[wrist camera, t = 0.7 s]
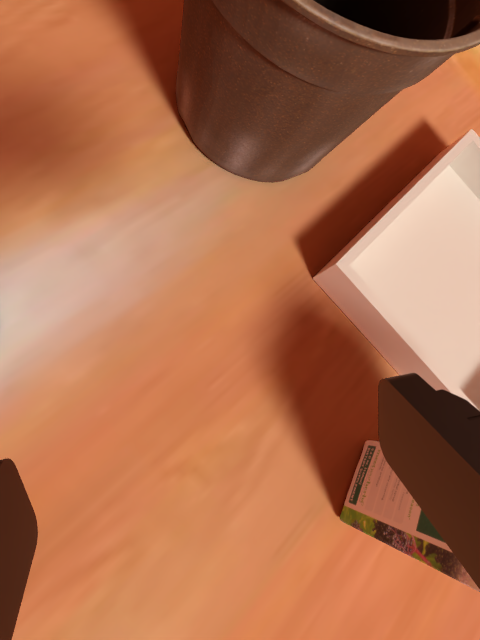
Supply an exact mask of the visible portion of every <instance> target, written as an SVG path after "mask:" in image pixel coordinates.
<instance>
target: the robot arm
mask: <svg viewBox="0 0 480 640" xmlns="http://www.w3.org/2000/svg"><path fill="white" fill-rule="evenodd" d="M378 436H379V443H380V447H381V450H382V453H383V455H384V457H385V459H386V461H387V463H388V464H389V466H390V467H391V468H392V470H393V471H394V472H395V474H396V475H397V477H398V478H399V479H400V481H401V482H402V483H403V485H404V486H405V488H406V489H407V490H408V492H409V493H410V494H411V496H412V497H413V499H414V500H415V501H416V503H417V504H418V505H419V507H420V508H421V510H422V511H423V512H424V514H425V515H426V516H427V518H428V519H429V521H430V522H431V523H432V525H433V526H434V527H435V529H436V530H437V532H438V533H439V534H440V536H441V537H442V538H443V540H444V541H445V542H446V544H447V545H448V547H449V548H450V549H451V551H452V552H453V553H454V555H455V556H456V558H457V559H458V560H459V562H460V563H461V564H462V566H463V567H464V569H465V570H466V571H467V573H468V574H469V575H470V577H471V578H472V580H473V581H474V582H475V584H476V585H477V586H478V588H479V589H480V411H479V410H478V409H477V408H475V407H474V406H473V405H472V404H471V403H469V402H468V401H467V400H466V399H463V398H461V397H459V396H457V395H455V394H452V393H450V392H448V391H446V390H443V389H441V390H437V391H436V390H435V389H434V388H433V387H431V386H430V385H429V384H428V383H427V382H426V381H425V380H424V379H422V378H421V377H420V376H419V375H418V374H416V373H409V374H404V375H399V376H395V377H390V378H385V379H382V380H381V381H380V382H379V386H378ZM37 537H38V529H37V520H36V516H35V513H34V510H33V507H32V505H31V503H30V500H29V498H28V495H27V493H26V490H25V488H24V485H23V483H22V480H21V478H20V475H19V473H18V470H17V468H16V466H15V464H14V462H13V461H12V460H11V459H3V460H0V640H12V636H13V632H14V628H15V624H16V621H17V617H18V613H19V609H20V606H21V602H22V598H23V594H24V590H25V587H26V583H27V579H28V575H29V572H30V568H31V564H32V560H33V557H34V553H35V549H36V545H37Z"/></svg>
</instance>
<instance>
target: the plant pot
mask: <svg viewBox="0 0 480 640" xmlns="http://www.w3.org/2000/svg"><path fill="white" fill-rule="evenodd" d="M479 44H480V0H184V9H183V20H182V31H181V42H180V53H179V62H178V71H177V80H176V99H177V106H178V111H179V114H180V116H181V117H182V118H183V120H184V122H185V125H186V127H187V129H188V131H189V133H190V135H191V137H192V140H193V142H194V143H195V144H196V146H197V147H198V148H199V149H200V150H201V151H202V152H203V153H204V154H205V155H206V156H207V157H208V158H209V159H210V160H212V161H213V162H214V163H216V164H217V165H219V166H220V167H222V168H224V169H225V170H227V171H229V172H231V173H233V174H235V175H238V176H241V177H244V178H247V179H250V180H255V181H260V182H279V181H284V180H287V179H290V178H292V177H295V176H297V175H300V174H302V173H305V172H307V171H309V170H310V169H311V168H313V167H314V166H315V165H316V164H317V163H318V162H319V161H320V160H321V159H322V158H324V157H325V156H326V155H327V154H328V153H329V152H330V151H332V150H333V149H334V148H335V147H336V146H337V145H339V144H340V143H341V142H342V141H343V140H344V139H346V138H347V137H348V136H349V135H350V134H351V133H352V132H354V131H355V130H356V129H357V128H358V127H359V126H360V125H362V124H363V123H364V122H365V121H366V120H367V119H369V118H370V117H371V116H372V115H373V114H374V113H375V112H377V111H378V110H379V109H380V108H381V107H382V106H384V105H385V104H386V103H387V102H388V101H390V100H391V99H392V98H393V97H394V96H395V95H397V94H398V93H399V92H400V91H401V90H403V89H405V88H407V87H409V86H412V85H414V84H416V83H418V82H419V81H421V80H423V79H424V78H425V77H427V76H428V75H429V74H430V73H432V72H433V71H434V70H435V69H437V68H438V67H439V66H440V65H441V64H443V63H444V62H445V61H446V60H447V59H449V58H450V57H451V56H452V55H454V54H455V53H459V52H462V51H465V50H468V49H470V48H473V47H475V46H477V45H479Z"/></svg>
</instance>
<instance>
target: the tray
mask: <svg viewBox="0 0 480 640" xmlns="http://www.w3.org/2000/svg"><path fill="white" fill-rule="evenodd" d="M313 279H314V281H315V282H316V283H317V284H318V285H319V286H320V287H321V288H322V289H323V290H324V292H325V293H326V294H327V295H328V296H329V297H330V298H331V299H332V300H333V302H334V303H335V304H336V305H337V306H338V307H339V308H340V309H341V310H342V312H343V313H344V314H345V315H346V316H347V317H348V318H349V319H350V320H351V322H352V323H353V324H354V325H355V326H356V327H357V328H358V329H359V330H360V332H361V333H362V334H363V335H364V336H365V337H366V338H367V339H368V340H369V342H370V343H371V344H372V345H373V346H374V347H375V348H376V349H377V350H378V352H379V353H380V354H381V355H382V356H383V357H384V358H385V359H386V360H387V362H388V363H389V364H390V365H391V366H392V367H393V368H394V369H395V370H396V371H397V373H398V374H399V375H404V374H409V373H416V374H418V375H419V376H420V377H421V378H422V379H424V380H425V381H426V382H427V383H428V384H429V385H430V386H431V387H433V388H434V389H435V390H436V391H437V390H441V389H443V390H446V391H448V392H450V393H452V394H455V395H457V396H459V397H461V398H463V399H466V400H467V401H468V402H469V403H471V404H472V405H473V406H474V407H475V408H477V409H478V410H479V411H480V137H479V136H478V135H477V134H476V133H475V132H474V130H473V129H471V130H469V131H468V132H467V133H465V134H464V135H463V136H462V137H460V138H459V139H458V140H456V141H455V142H454V143H452V144H451V145H450V146H448V147H447V148H446V149H444V150H443V151H442V152H440V153H439V154H438V155H437V156H436V157H435V158H434V159H433V160H432V161H431V162H430V163H429V164H428V165H427V166H426V167H425V168H424V169H423V170H422V171H421V172H420V173H419V174H418V175H417V176H416V177H415V178H414V179H413V180H412V181H411V182H410V183H409V184H408V185H407V186H406V187H405V188H404V189H403V190H402V191H401V192H400V193H399V194H398V195H397V196H395V197H394V198H393V199H392V200H391V201H390V202H389V203H388V204H387V205H386V206H385V207H384V208H383V209H382V210H381V211H380V212H379V213H378V214H377V215H376V216H375V217H374V218H373V219H372V220H371V221H370V222H369V223H368V224H367V225H366V226H365V227H364V228H363V229H362V230H361V231H360V232H359V233H358V234H357V235H356V236H355V237H354V238H353V239H352V240H351V241H350V242H349V243H348V244H347V245H346V246H345V247H344V248H343V249H342V250H341V251H340V252H339V253H338V254H337V255H336V256H334V257H333V258H332V259H331V260H330V261H329V262H328V263H327V264H326V265H325V266H324V267H323V268H322V269H321V270H320V271H319V272H318V273H317V274H316V275H315V276H314V277H313Z"/></svg>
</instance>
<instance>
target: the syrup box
mask: <svg viewBox="0 0 480 640" xmlns="http://www.w3.org/2000/svg"><path fill="white" fill-rule="evenodd" d="M340 520H341V521H342V522H344V523H346V524H348V525H350V526H352V527H354V528H356V529H358V530H360V531H362V532H364V533H366V534H368V535H370V536H372V537H374V538H376V539H378V540H380V541H382V542H384V543H386V544H387V545H389V546H391V547H393V548H395V549H397V550H399V551H401V552H403V553H405V554H407V555H409V556H411V557H413V558H415V559H417V560H419V561H421V562H423V563H425V564H427V565H429V566H431V567H433V568H435V569H436V570H438V571H440V572H442V573H444V574H446V575H448V576H450V577H452V578H454V579H456V580H458V581H460V582H461V583H463V584H465V585H467V586H469V587H471V588H473V589H475V590H477V591H479V592H480V589H479V588H478V586H477V585H476V584H475V582H474V581H473V580H472V578H471V577H470V575H469V574H468V573H467V571H466V570H465V569H464V567H463V566H462V564H461V563H460V562H459V560H458V559H457V558H456V556H455V555H454V553H453V552H452V551H451V549H450V548H449V547H448V545H447V544H446V542H445V541H444V540H443V538H442V537H441V536H440V534H439V533H438V532H437V530H436V529H435V527H434V526H433V525H432V523H431V522H430V521H429V519H428V518H427V516H426V515H425V514H424V512H423V511H422V510H421V508H420V507H419V505H418V504H417V503H416V501H415V500H414V499H413V497H412V496H411V494H410V493H409V492H408V490H407V489H406V488H405V486H404V485H403V483H402V482H401V481H400V479H399V478H398V477H397V475H396V474H395V472H394V471H393V470H392V468H391V467H390V466H389V464H388V463H387V461H386V459H385V457H384V455H383V453H382V450H381V447H380V443H379V441H373V440H367V441H365V444H364V447H363V452H362V454H361V457H360V460H359V462H358V465H357V468H356V471H355V473H354V476H353V479H352V482H351V485H350V488H349V491H348V494H347V497H346V500H345V503H344V507H343V509H342V513H341V515H340Z"/></svg>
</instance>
